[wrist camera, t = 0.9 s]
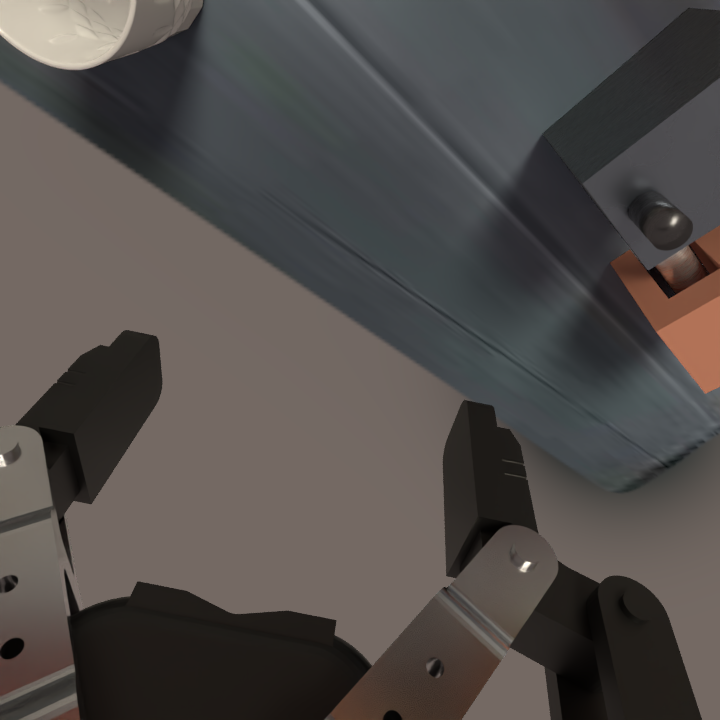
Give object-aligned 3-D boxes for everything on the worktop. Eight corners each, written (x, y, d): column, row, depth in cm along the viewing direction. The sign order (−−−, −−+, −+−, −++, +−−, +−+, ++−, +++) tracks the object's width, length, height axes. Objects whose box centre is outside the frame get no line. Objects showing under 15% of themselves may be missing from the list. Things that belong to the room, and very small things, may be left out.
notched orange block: (695, 205, 33) (771, 266, 26) (736, 267, 35) (817, 339, 28) (609, 262, 36) (656, 332, 29) (652, 316, 38) (705, 393, 31)
